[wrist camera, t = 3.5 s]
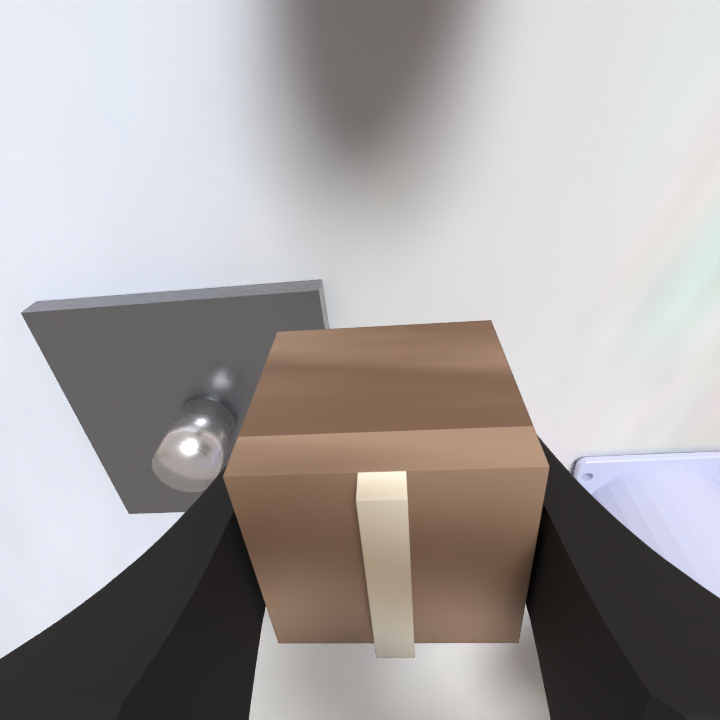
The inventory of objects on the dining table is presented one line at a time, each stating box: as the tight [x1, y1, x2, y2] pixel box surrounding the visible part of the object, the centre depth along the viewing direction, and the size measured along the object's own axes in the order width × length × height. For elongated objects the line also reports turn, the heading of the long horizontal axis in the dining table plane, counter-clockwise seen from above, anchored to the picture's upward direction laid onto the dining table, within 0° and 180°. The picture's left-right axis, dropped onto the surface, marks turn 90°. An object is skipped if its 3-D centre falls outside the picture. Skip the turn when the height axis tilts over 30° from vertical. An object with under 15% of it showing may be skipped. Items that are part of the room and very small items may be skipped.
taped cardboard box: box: [223, 320, 549, 658], centre depth 11 cm, size 5×5×6 cm
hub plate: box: [21, 280, 329, 514], centre depth 21 cm, size 12×12×4 cm
